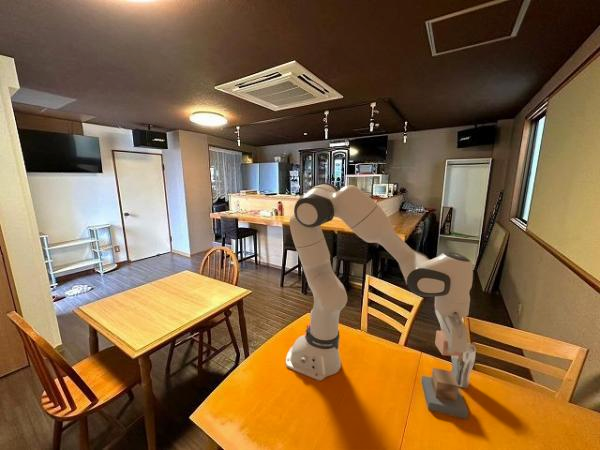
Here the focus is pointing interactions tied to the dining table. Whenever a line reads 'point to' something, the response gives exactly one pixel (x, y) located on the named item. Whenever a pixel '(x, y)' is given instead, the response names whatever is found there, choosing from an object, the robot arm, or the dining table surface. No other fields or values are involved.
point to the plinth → (443, 401)
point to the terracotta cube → (443, 344)
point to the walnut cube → (444, 384)
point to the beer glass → (463, 365)
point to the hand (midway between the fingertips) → (447, 344)
